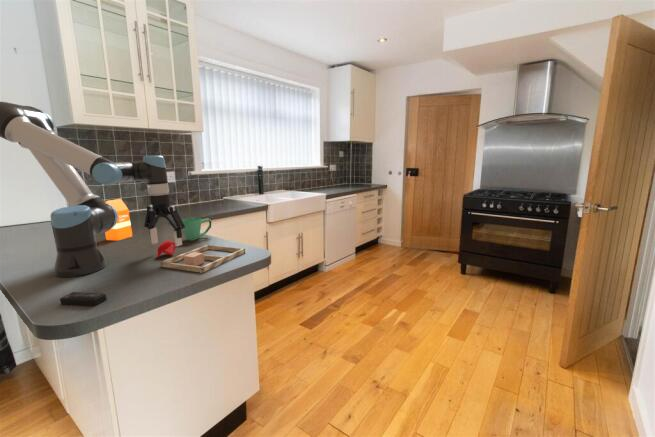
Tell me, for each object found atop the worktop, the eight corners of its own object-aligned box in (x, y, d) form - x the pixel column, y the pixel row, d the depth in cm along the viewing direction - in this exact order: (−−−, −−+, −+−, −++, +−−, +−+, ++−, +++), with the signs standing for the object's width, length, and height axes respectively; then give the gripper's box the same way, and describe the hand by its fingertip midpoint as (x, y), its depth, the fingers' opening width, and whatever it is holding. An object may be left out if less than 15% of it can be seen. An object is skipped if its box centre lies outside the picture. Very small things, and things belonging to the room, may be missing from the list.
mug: (184, 242, 152) (182, 222, 150) (180, 238, 160) (178, 219, 158) (215, 237, 161) (213, 218, 159) (210, 234, 169) (208, 215, 167)
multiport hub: (95, 307, 89) (93, 300, 88) (60, 306, 90) (58, 298, 90) (107, 300, 93) (106, 293, 92) (74, 299, 94) (73, 291, 94)
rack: (202, 272, 112) (201, 268, 112) (161, 266, 120) (160, 262, 119) (245, 252, 135) (245, 248, 135) (208, 248, 143) (207, 244, 142)
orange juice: (105, 239, 161) (99, 201, 158) (120, 235, 170) (115, 198, 166) (118, 240, 160) (112, 201, 156) (132, 236, 168) (127, 198, 164)
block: (194, 267, 119) (193, 257, 118) (184, 265, 121) (183, 255, 120) (204, 263, 123) (203, 253, 123) (194, 261, 125) (193, 252, 124)
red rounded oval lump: (173, 244, 139) (159, 239, 135) (178, 241, 135) (164, 236, 131) (167, 261, 136) (152, 256, 132) (172, 259, 132) (157, 254, 128)
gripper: (189, 193, 128) (196, 243, 132) (145, 192, 137) (153, 240, 141) (174, 195, 121) (182, 249, 125) (129, 195, 130) (137, 244, 134)
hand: (166, 244), depth 133 cm, fingers open, 13 cm apart
